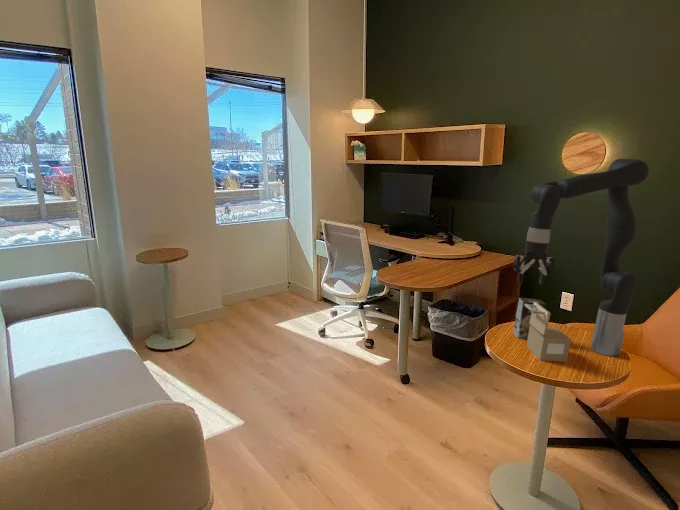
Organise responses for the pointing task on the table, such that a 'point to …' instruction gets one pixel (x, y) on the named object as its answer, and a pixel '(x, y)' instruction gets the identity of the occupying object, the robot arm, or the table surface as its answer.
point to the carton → (549, 344)
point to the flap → (539, 318)
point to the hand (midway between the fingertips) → (530, 283)
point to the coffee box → (524, 317)
